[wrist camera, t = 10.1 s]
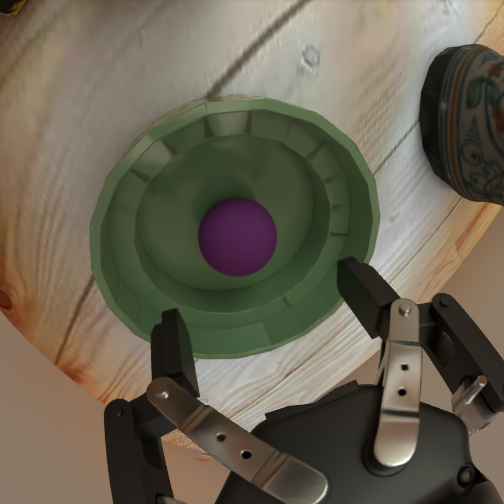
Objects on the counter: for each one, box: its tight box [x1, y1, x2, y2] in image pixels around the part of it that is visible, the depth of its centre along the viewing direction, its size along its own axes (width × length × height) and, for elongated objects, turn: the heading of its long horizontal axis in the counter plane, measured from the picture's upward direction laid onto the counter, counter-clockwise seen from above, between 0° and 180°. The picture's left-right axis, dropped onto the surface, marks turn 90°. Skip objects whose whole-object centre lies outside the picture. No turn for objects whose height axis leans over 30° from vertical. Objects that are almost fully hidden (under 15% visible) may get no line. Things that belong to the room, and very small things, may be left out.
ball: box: [198, 198, 277, 277], centre depth 18 cm, size 5×5×5 cm
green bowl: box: [90, 95, 380, 359], centre depth 18 cm, size 17×17×6 cm
